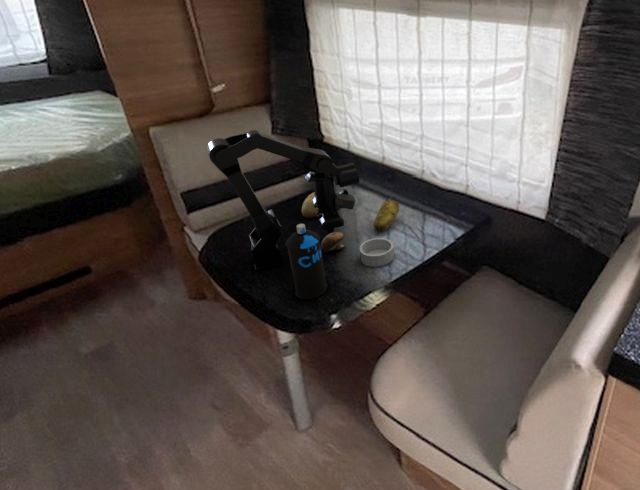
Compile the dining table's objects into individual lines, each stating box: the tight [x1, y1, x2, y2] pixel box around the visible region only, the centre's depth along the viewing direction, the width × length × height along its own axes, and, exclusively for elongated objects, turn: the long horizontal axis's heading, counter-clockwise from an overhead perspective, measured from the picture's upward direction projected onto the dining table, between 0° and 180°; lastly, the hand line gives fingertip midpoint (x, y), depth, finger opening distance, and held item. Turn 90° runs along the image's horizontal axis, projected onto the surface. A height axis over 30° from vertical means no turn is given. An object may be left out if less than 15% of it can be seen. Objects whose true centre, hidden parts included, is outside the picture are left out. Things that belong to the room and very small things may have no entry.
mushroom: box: [320, 231, 346, 253], centre depth 130 cm, size 8×8×6 cm
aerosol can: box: [285, 223, 328, 300], centre depth 109 cm, size 8×8×20 cm
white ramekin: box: [358, 237, 395, 268], centre depth 127 cm, size 10×10×4 cm
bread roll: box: [301, 192, 318, 219], centre depth 152 cm, size 10×15×8 cm, turn 141°
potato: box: [373, 199, 400, 233], centre depth 144 cm, size 8×13×8 cm, turn 149°
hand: (331, 234), depth 134 cm, fingers closed
